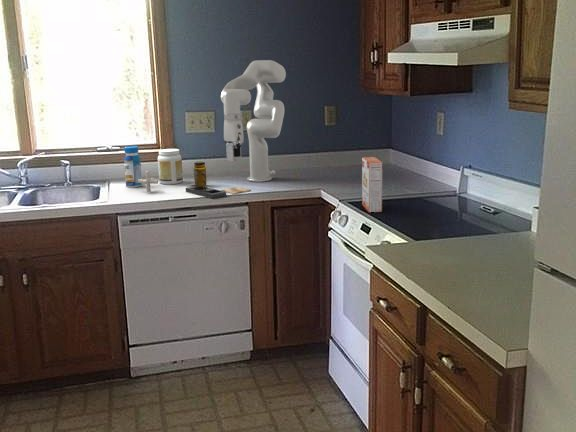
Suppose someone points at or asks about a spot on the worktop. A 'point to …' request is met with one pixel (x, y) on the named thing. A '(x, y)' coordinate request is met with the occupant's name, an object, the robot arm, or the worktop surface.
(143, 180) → the pipe connector
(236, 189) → the oak coaster
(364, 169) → the cracker box
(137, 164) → the beverage bottle
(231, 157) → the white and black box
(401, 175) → the worktop surface
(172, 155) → the supplement tub
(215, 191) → the rack rail
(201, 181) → the condiment
